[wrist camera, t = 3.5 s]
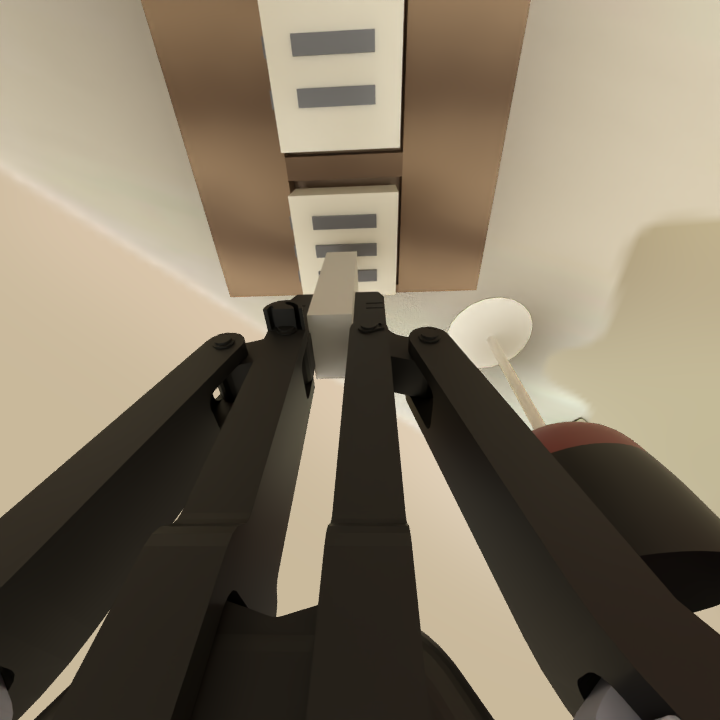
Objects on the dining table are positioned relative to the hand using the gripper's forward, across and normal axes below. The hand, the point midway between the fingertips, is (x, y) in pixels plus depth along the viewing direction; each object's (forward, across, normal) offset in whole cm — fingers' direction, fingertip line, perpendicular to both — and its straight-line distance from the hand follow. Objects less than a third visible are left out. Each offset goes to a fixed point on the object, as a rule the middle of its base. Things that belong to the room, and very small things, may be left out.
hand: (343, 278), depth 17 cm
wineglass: (+10, +12, -10) cm, 18 cm away
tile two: (+6, 0, +8) cm, 10 cm away
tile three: (+6, 0, 0) cm, 6 cm away
